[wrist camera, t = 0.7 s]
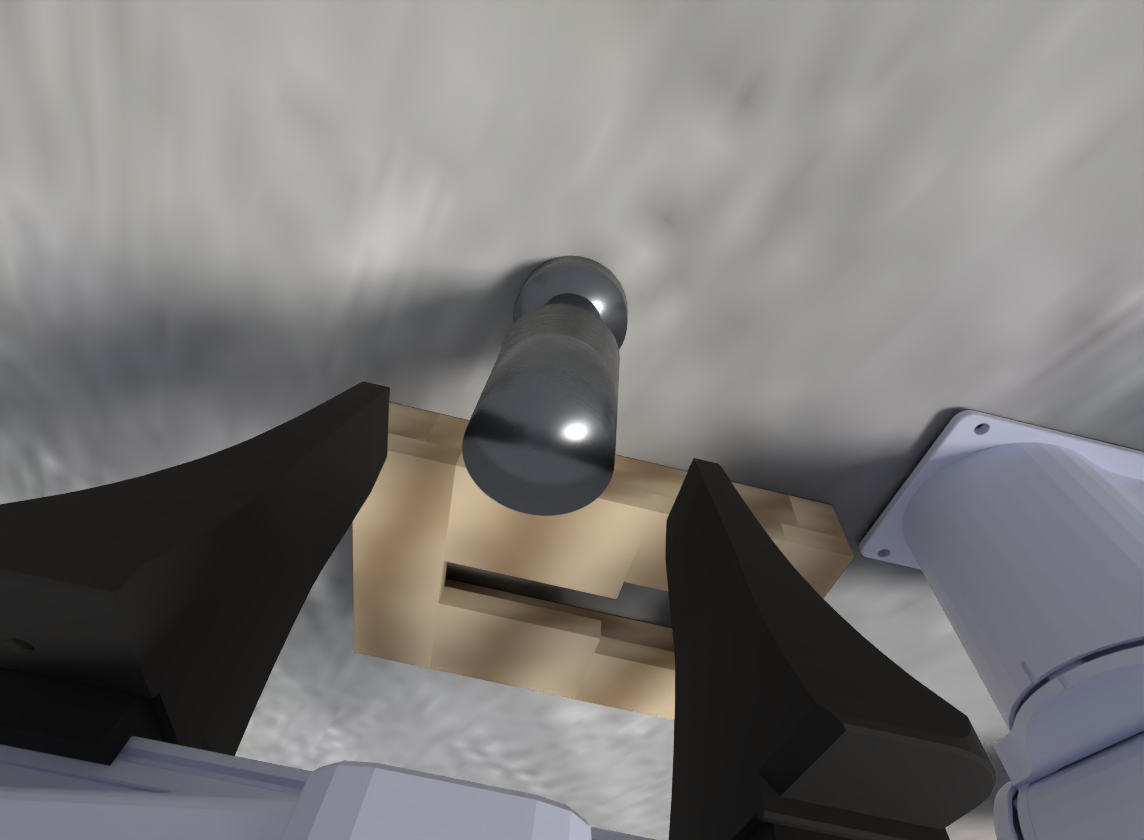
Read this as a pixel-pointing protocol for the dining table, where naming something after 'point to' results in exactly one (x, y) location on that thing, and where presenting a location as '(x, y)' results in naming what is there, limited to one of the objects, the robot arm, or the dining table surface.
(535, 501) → the key peg
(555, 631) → the keyhole plate
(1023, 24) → the dining table surface
